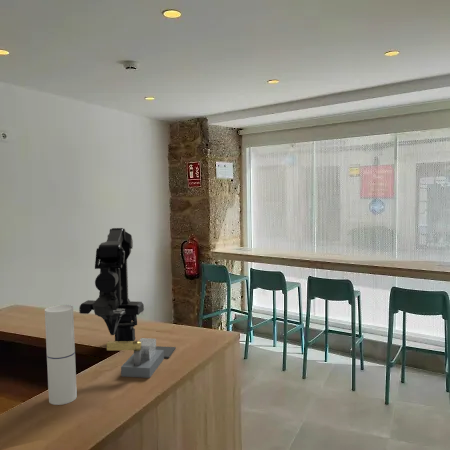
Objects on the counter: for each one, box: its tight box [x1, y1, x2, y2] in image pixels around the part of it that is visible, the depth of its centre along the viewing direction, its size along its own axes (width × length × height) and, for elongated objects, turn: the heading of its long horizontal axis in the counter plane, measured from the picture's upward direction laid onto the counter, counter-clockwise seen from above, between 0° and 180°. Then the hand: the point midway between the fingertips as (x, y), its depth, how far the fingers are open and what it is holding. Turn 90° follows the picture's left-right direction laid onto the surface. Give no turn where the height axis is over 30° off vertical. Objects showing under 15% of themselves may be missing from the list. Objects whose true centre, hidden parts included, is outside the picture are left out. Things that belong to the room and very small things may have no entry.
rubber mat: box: [156, 345, 176, 359], centre depth 153 cm, size 12×9×1 cm
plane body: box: [120, 350, 165, 379], centre depth 140 cm, size 9×15×8 cm, turn 172°
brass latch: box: [106, 340, 141, 352], centre depth 134 cm, size 3×10×2 cm, turn 88°
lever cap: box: [138, 337, 157, 360], centre depth 142 cm, size 5×7×4 cm
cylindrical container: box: [44, 304, 78, 406], centre depth 119 cm, size 7×7×25 cm
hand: (112, 334), depth 136 cm, fingers closed
